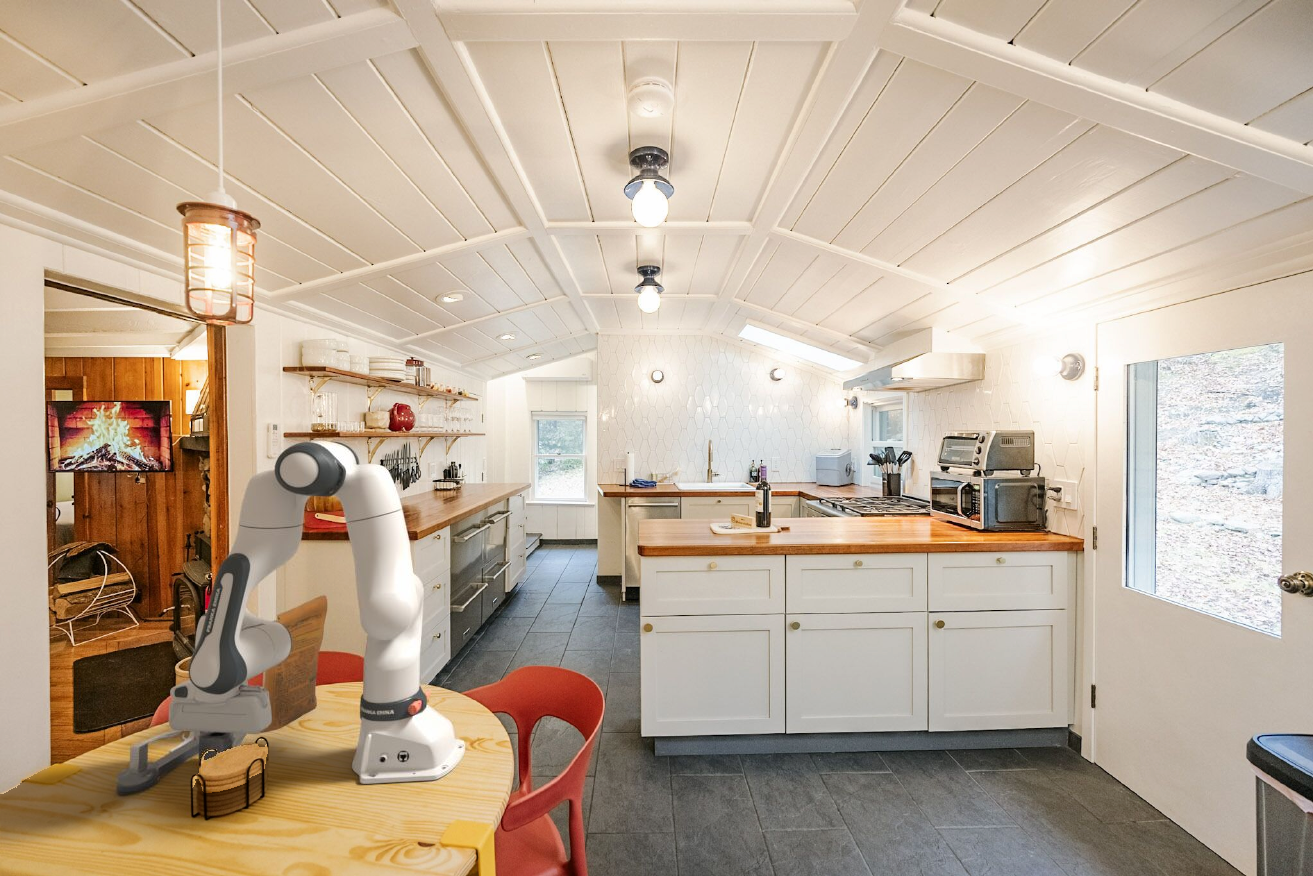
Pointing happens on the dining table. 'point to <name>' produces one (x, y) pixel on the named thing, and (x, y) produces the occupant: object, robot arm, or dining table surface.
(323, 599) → the pancake mix bag
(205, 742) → the socket
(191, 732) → the pliers
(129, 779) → the ratchet
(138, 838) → the dining table surface
